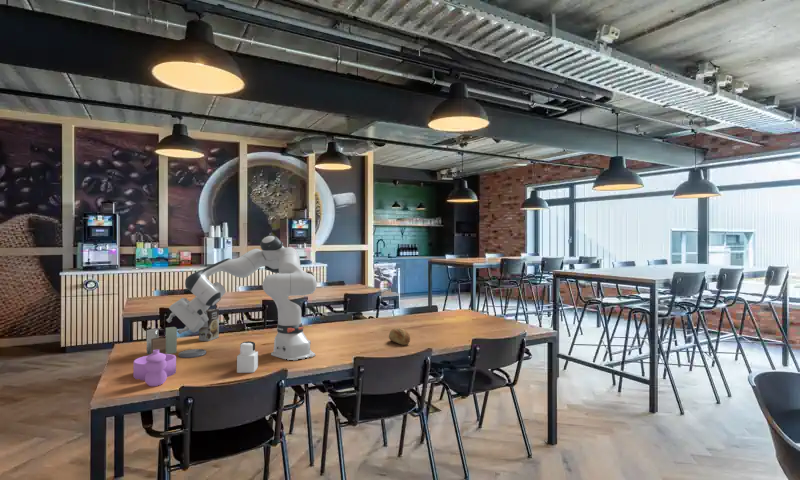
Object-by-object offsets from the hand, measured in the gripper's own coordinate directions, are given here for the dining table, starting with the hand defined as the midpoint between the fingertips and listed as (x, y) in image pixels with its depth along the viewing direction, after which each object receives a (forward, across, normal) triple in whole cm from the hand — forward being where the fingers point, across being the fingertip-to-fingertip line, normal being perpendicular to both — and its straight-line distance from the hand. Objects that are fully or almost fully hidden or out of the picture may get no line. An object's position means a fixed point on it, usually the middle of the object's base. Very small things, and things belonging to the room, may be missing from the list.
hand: (172, 327), depth 218 cm
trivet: (+2, +19, 0) cm, 19 cm away
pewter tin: (+14, +3, +2) cm, 14 cm away
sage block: (+8, +9, +2) cm, 12 cm away
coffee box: (-8, +4, +25) cm, 27 cm away
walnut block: (+13, +12, -6) cm, 19 cm away
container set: (+17, +33, -27) cm, 46 cm away
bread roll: (-72, +86, +24) cm, 115 cm away
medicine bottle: (-9, +55, -18) cm, 58 cm away
